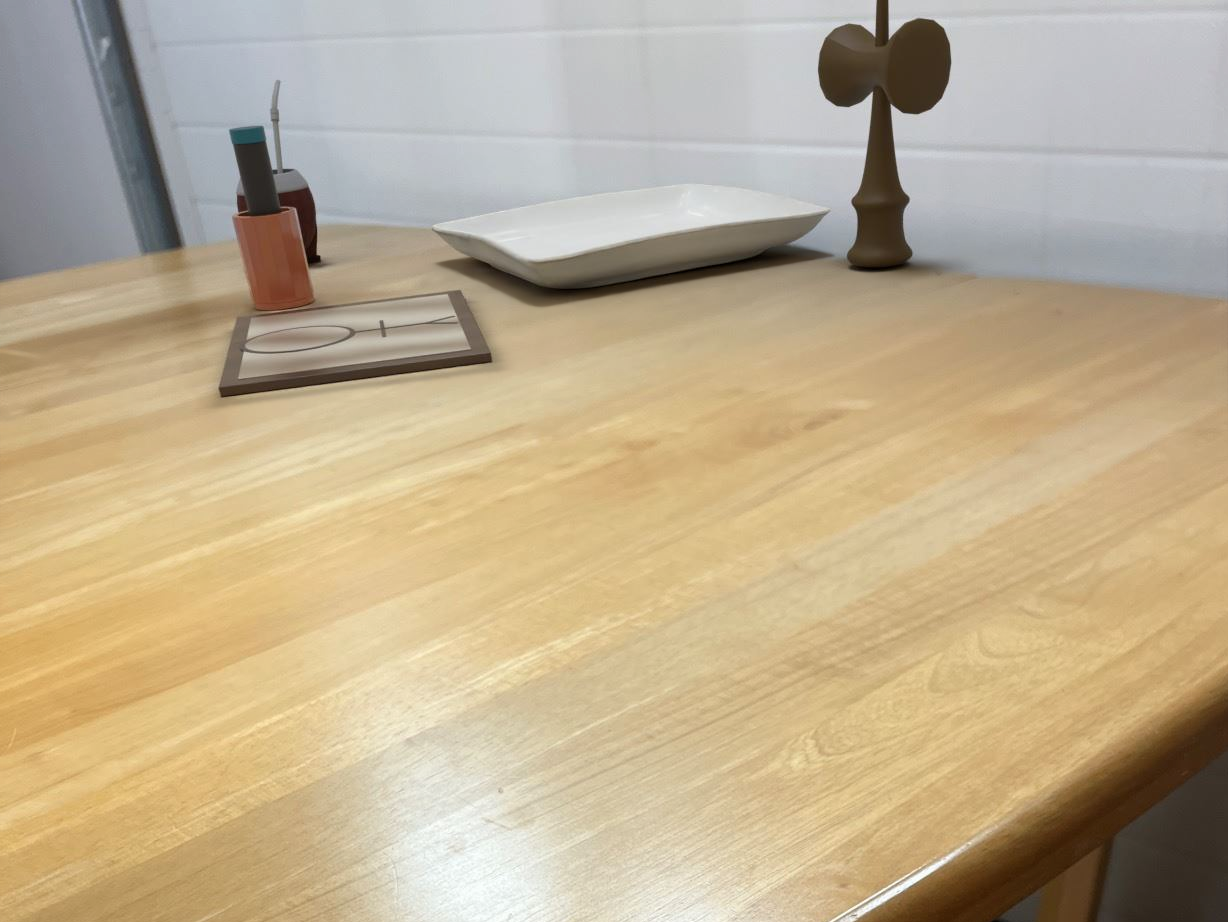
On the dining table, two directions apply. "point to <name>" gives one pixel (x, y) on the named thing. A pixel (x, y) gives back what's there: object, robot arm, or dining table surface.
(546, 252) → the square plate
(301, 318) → the framed picture
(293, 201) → the mate gourd
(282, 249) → the pen cup
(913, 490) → the dining table surface
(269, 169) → the marker
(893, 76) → the kendama
